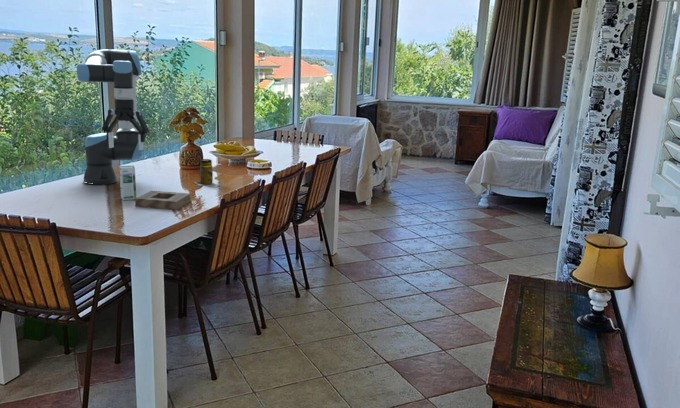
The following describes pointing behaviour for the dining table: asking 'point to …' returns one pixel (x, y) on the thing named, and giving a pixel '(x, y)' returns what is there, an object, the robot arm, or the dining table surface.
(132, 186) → the syrup box
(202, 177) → the condiment
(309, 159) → the dining table surface
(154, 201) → the walnut socket block
